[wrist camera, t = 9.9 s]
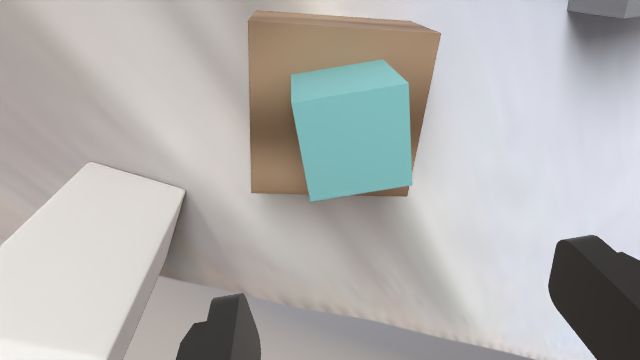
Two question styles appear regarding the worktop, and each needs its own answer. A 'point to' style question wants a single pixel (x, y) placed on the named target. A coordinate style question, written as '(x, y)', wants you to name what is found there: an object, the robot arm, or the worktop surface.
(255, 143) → the walnut base block
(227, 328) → the robot arm
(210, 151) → the worktop surface
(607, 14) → the gray cube
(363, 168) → the teal cube
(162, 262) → the milk carton
